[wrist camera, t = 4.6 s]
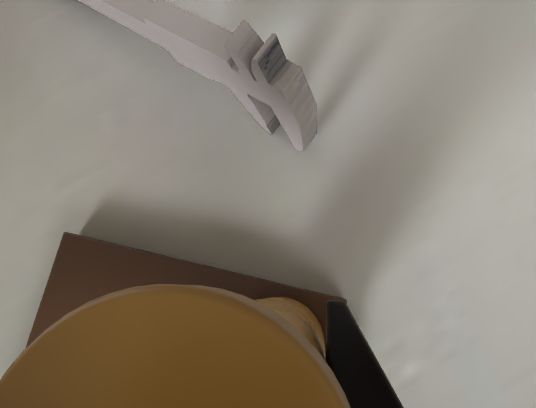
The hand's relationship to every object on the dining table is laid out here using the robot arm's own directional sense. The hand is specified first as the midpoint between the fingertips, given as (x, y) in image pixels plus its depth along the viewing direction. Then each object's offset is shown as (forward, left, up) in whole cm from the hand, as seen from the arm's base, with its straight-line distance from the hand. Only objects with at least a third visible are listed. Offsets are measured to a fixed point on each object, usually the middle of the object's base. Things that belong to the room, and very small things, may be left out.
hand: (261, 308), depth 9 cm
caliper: (+11, +10, -7) cm, 16 cm away
